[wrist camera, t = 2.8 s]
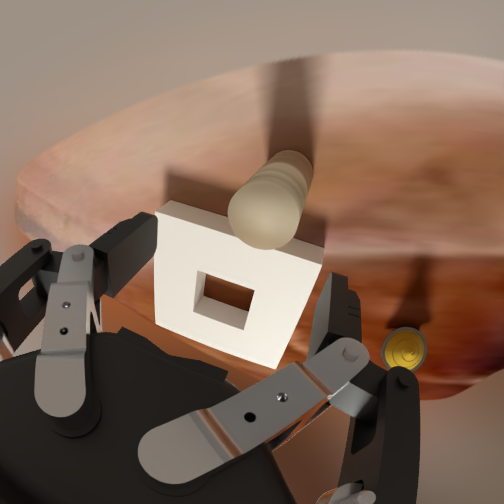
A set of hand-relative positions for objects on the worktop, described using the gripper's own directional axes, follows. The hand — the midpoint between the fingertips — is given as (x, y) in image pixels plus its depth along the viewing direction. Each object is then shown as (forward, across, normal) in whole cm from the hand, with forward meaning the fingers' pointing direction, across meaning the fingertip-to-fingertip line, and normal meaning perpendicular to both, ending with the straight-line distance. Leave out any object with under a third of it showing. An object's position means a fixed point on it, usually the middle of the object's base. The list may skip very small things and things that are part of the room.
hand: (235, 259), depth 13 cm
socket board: (+14, +3, +14) cm, 20 cm away
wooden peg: (+14, 0, 0) cm, 14 cm away
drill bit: (+14, -17, +13) cm, 26 cm away
